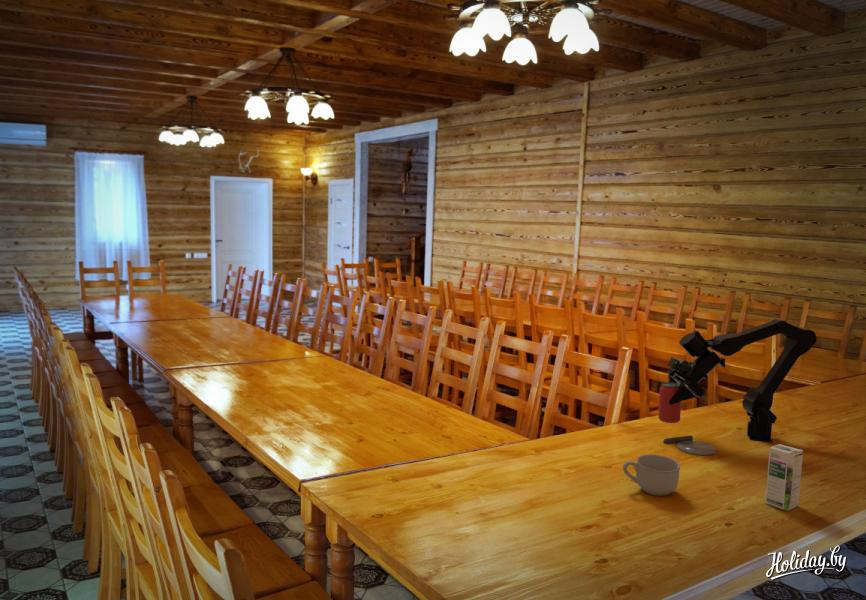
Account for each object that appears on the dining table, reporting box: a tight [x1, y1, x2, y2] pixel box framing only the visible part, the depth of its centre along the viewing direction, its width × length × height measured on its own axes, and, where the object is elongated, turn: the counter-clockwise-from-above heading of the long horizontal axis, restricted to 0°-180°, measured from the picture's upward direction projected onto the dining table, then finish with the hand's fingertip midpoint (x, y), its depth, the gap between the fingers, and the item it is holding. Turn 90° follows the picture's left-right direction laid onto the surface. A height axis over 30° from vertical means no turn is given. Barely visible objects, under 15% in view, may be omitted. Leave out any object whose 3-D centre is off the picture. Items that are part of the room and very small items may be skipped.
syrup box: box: [764, 443, 804, 512], centre depth 163 cm, size 6×6×14 cm
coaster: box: [676, 440, 717, 456], centre depth 204 cm, size 11×11×1 cm
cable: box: [662, 434, 694, 445], centre depth 211 cm, size 11×2×2 cm, turn 111°
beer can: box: [658, 381, 682, 424], centre depth 213 cm, size 7×7×12 cm
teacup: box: [622, 453, 681, 497], centre depth 172 cm, size 14×11×8 cm
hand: (665, 400), depth 213 cm, fingers closed on beer can, 7 cm apart
